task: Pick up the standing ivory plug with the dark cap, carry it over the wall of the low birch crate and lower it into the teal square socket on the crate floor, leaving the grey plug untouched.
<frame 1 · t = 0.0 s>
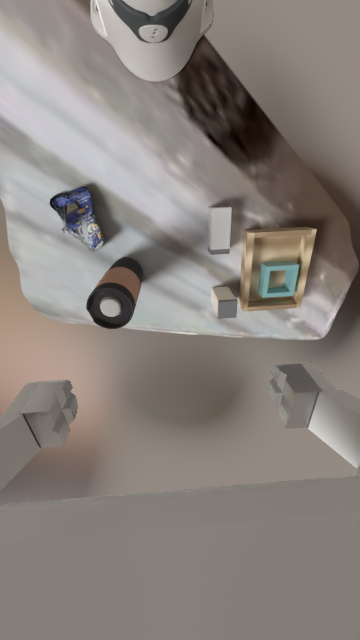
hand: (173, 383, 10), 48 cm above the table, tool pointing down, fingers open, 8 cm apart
birch crate: (269, 268, 57), on the table
ivory connector: (219, 294, 60), on the table
travel mug: (127, 272, 56), on the table
grey plug: (217, 226, 52), on the table
snack package: (81, 218, 51), on the table
teal socket: (272, 275, 58), resting on birch crate
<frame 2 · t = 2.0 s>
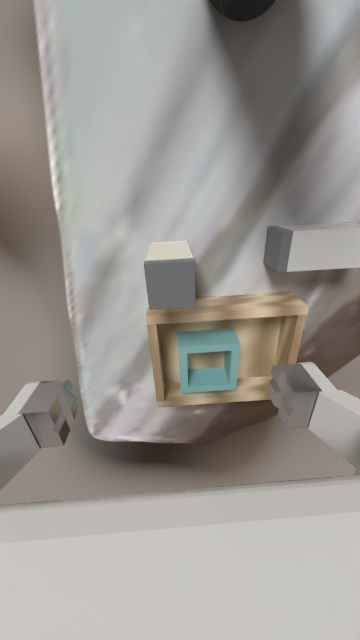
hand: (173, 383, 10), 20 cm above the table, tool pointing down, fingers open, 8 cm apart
birch crate: (218, 342, 33), on the table
ivory connector: (170, 259, 28), on the table
grey plug: (308, 242, 27), on the table
teal socket: (204, 349, 34), resting on birch crate
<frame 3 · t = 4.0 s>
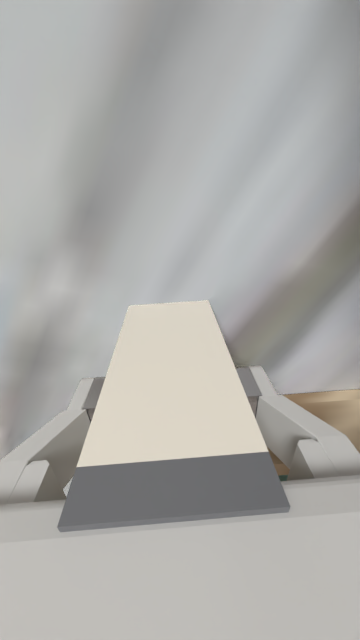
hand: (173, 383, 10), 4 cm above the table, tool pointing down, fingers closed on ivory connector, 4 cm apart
birch crate: (257, 461, 19), on the table
ivory connector: (171, 336, 13), on the table, touching gripper
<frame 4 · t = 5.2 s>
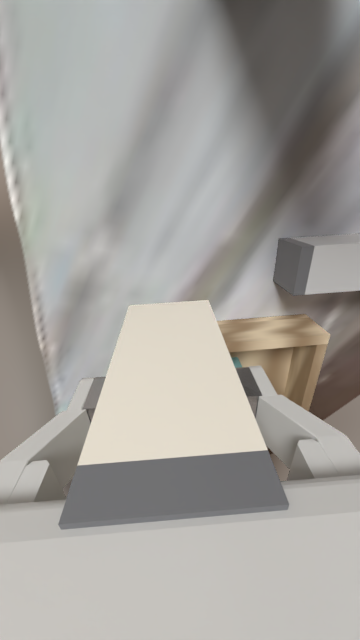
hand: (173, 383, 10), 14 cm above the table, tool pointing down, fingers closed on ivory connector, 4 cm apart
birch crate: (220, 372, 28), on the table
ivory connector: (171, 336, 13), point 11 cm above the table, touching gripper
grey plug: (326, 256, 23), on the table
when the fingers open (6 cm above the table, at t = 8.6 s): ivory connector drops 1 cm, resting on birch crate.
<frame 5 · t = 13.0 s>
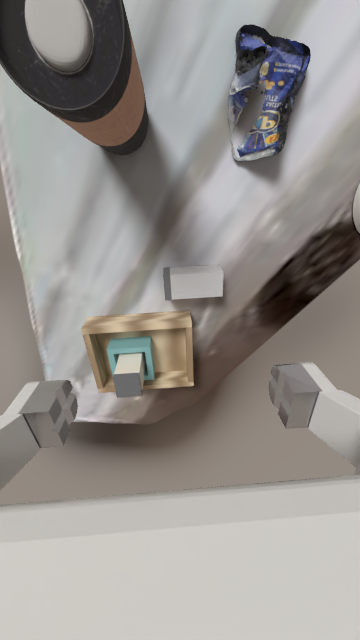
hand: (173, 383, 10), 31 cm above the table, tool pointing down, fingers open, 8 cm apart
birch crate: (144, 346, 46), on the table
ivory connector: (134, 353, 46), point 1 cm above the table, touching birch crate
travel mug: (119, 121, 30), on the table
grey plug: (194, 277, 40), on the table
snack package: (254, 99, 30), on the table
teal socket: (134, 351, 46), resting on birch crate
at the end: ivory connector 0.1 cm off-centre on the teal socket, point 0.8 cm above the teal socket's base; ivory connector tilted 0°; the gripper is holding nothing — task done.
